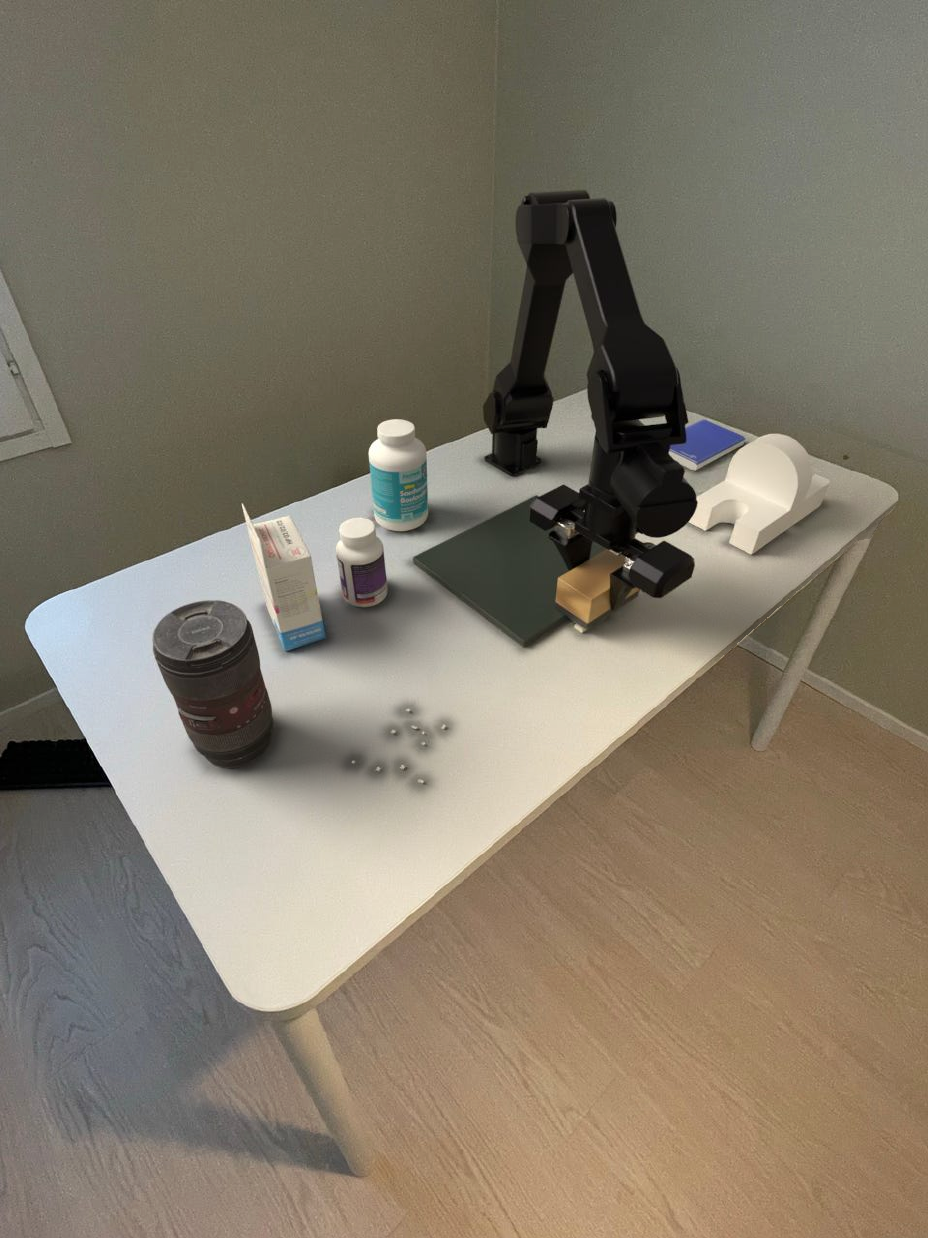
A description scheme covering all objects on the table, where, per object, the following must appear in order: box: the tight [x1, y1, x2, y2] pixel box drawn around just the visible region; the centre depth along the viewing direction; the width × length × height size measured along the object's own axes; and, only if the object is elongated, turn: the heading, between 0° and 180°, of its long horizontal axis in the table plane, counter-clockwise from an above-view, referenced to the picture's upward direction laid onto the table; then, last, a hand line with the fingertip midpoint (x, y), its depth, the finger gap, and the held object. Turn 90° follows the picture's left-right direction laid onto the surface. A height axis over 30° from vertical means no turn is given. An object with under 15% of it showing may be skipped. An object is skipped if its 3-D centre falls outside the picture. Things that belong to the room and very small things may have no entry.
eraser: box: [555, 549, 640, 631], centre depth 81 cm, size 5×9×4 cm, turn 131°
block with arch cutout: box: [688, 433, 831, 555], centre depth 94 cm, size 18×10×11 cm, turn 131°
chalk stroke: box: [574, 623, 587, 634], centre depth 81 cm, size 4×1×1 cm, turn 131°
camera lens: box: [152, 599, 274, 769], centre depth 64 cm, size 8×8×15 cm
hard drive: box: [669, 419, 746, 471], centre depth 110 cm, size 2×8×12 cm
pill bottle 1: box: [335, 517, 389, 608], centre depth 82 cm, size 5×5×10 cm
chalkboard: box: [412, 494, 606, 648], centre depth 89 cm, size 20×22×1 cm
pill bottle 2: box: [368, 418, 429, 532], centre depth 92 cm, size 8×7×14 cm
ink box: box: [241, 503, 327, 652], centre depth 76 cm, size 8×5×15 cm, turn 26°
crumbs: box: [351, 708, 446, 784], centre depth 68 cm, size 8×7×1 cm
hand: (597, 596), depth 82 cm, fingers closed on eraser, 5 cm apart
